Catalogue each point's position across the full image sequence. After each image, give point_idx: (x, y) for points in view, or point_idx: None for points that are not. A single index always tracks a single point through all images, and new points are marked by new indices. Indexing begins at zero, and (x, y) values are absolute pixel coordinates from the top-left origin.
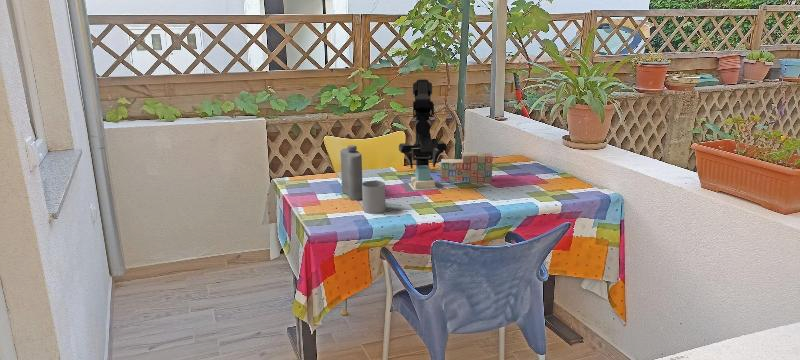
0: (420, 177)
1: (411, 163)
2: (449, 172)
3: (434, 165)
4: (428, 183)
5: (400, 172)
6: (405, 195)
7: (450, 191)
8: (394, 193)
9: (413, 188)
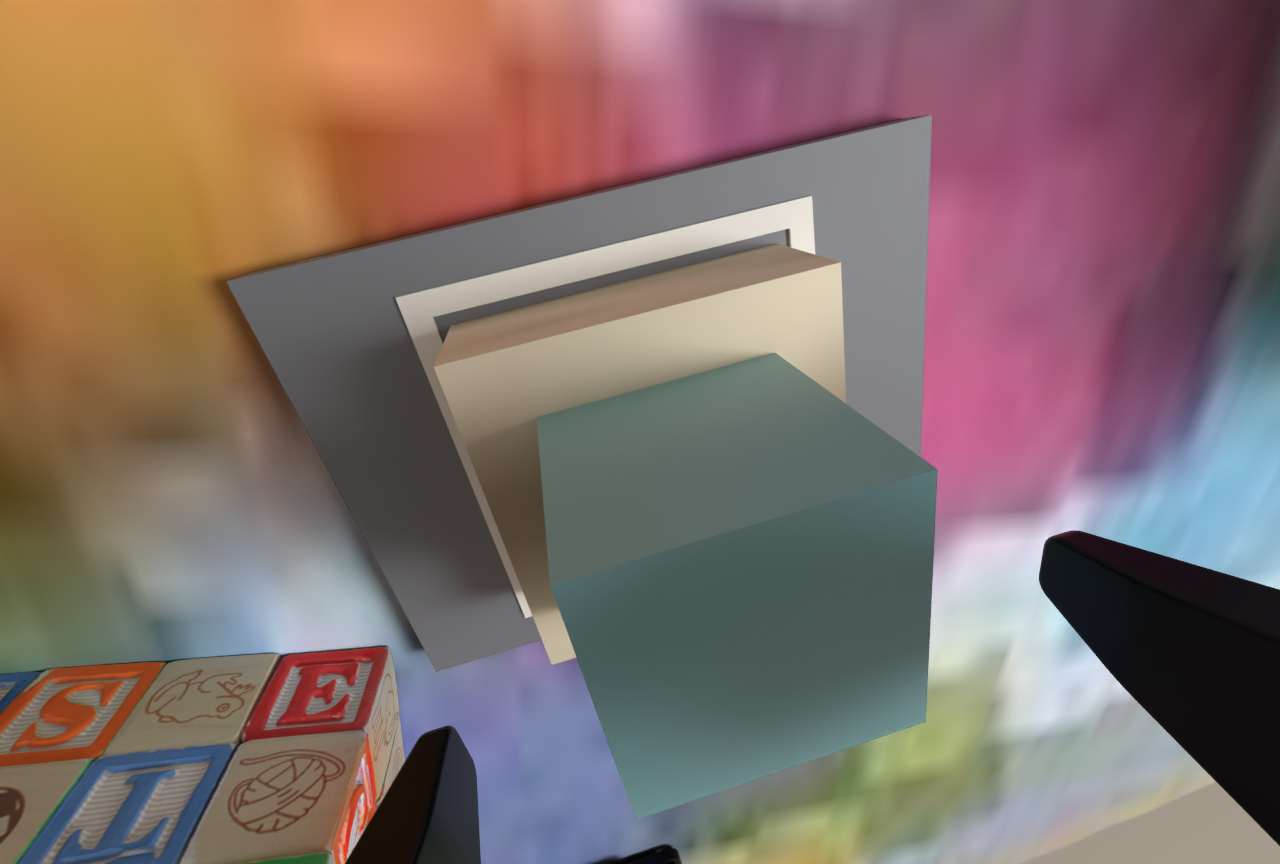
0: (761, 387)
1: (1276, 613)
2: (182, 816)
3: (412, 776)
4: (570, 321)
5: (814, 861)
6: (942, 38)
7: (145, 258)
8: (1059, 169)
9: None
